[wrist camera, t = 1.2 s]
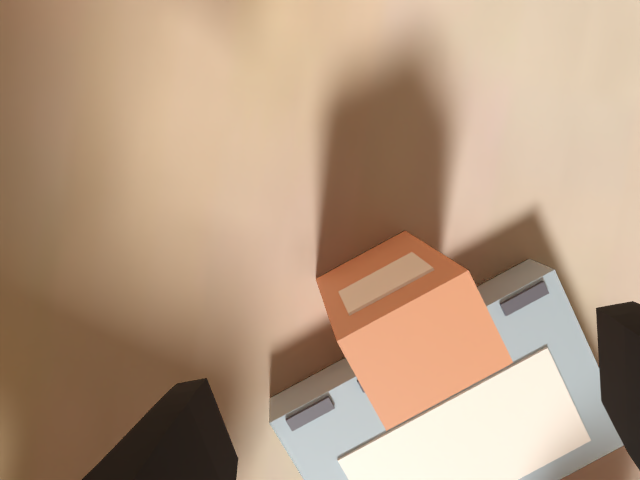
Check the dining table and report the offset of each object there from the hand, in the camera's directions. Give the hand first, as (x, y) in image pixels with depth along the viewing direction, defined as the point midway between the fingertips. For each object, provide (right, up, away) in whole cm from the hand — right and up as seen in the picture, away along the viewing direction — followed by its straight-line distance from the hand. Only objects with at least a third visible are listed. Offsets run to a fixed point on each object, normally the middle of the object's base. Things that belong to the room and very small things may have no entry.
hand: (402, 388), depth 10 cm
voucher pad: (+4, -4, +13) cm, 14 cm away
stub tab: (+1, +1, +12) cm, 12 cm away
